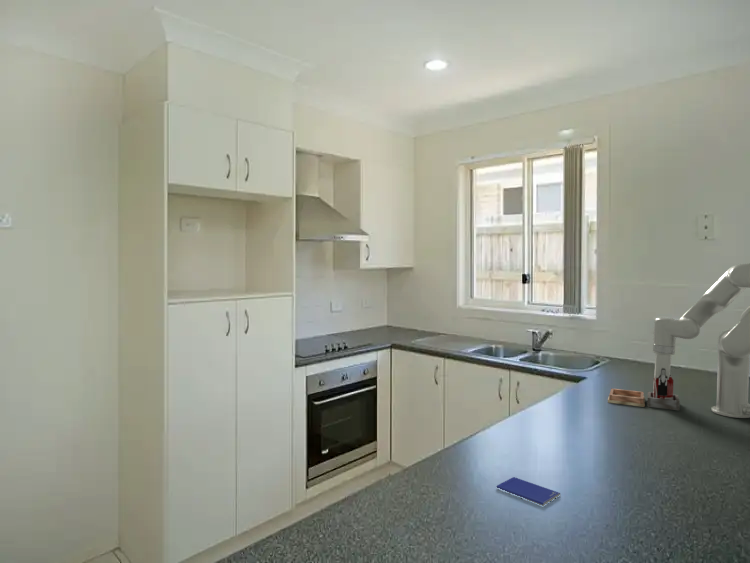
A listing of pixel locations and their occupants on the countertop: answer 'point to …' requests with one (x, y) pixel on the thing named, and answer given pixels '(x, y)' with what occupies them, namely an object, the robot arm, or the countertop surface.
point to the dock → (642, 399)
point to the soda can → (669, 389)
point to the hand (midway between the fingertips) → (661, 392)
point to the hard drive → (529, 491)
